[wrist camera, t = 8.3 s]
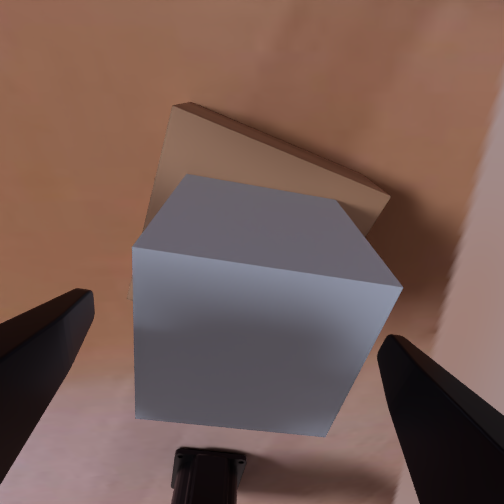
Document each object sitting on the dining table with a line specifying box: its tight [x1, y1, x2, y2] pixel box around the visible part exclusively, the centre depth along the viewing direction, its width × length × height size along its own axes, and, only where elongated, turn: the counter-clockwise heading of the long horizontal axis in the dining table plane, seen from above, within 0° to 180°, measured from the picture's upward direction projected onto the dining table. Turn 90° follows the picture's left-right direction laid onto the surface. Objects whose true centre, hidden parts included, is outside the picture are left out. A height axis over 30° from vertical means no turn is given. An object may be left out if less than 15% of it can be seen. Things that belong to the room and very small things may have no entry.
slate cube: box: [132, 174, 403, 437], centre depth 10 cm, size 6×6×6 cm
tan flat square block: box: [127, 102, 391, 301], centre depth 15 cm, size 9×9×4 cm
